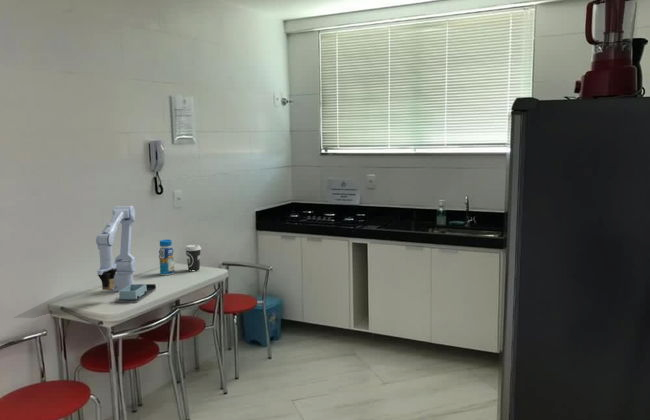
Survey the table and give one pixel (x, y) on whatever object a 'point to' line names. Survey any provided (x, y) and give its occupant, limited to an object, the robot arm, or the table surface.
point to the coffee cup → (193, 257)
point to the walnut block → (111, 285)
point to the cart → (133, 291)
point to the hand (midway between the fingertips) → (108, 285)
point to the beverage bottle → (166, 257)
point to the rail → (149, 290)
